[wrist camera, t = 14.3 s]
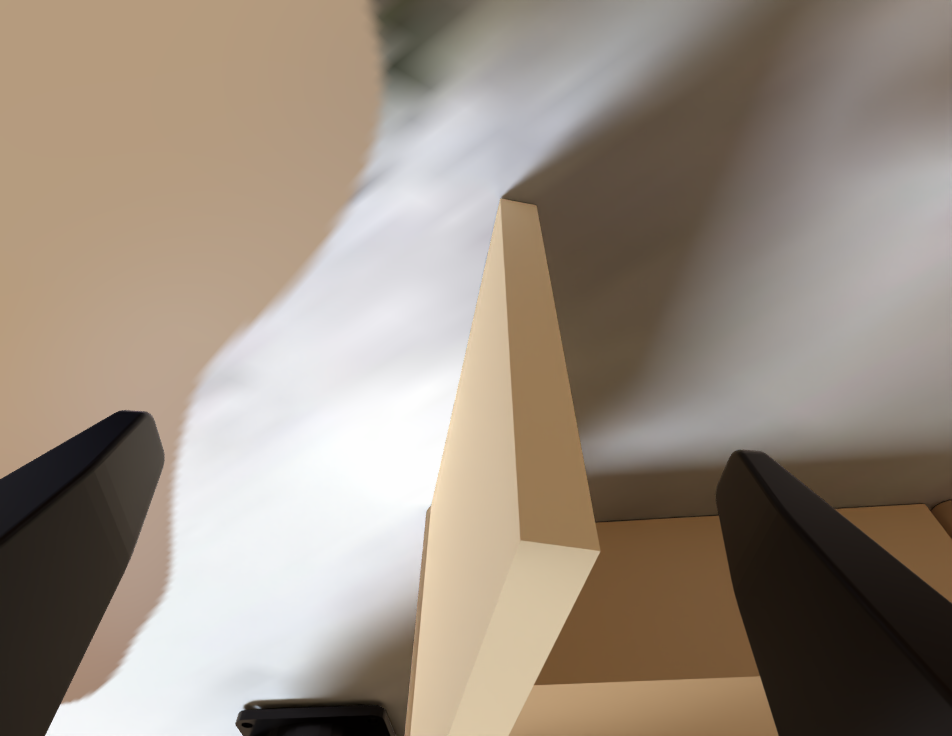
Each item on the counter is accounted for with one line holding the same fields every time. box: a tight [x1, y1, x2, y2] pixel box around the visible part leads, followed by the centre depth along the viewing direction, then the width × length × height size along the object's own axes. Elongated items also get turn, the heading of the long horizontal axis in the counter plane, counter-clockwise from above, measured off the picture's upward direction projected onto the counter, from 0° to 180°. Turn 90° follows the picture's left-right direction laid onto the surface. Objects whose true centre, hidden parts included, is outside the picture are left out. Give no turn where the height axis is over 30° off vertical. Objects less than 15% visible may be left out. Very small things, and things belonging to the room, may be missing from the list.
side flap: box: [405, 198, 600, 736], centre depth 13 cm, size 11×1×9 cm, turn 169°
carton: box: [509, 504, 952, 736], centre depth 20 cm, size 15×10×5 cm, turn 96°
